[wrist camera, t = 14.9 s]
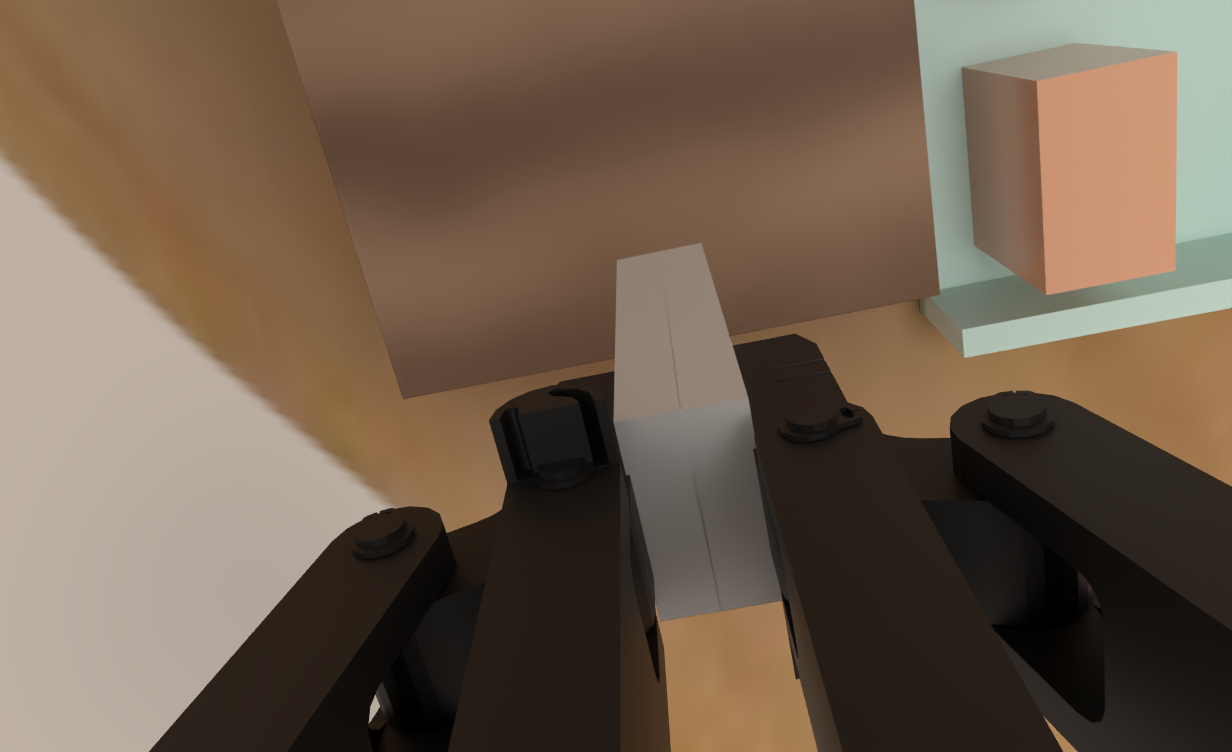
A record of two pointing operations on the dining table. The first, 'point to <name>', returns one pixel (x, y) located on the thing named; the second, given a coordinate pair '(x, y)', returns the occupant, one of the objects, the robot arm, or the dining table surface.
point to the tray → (1205, 166)
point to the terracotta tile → (1074, 163)
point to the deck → (614, 164)
